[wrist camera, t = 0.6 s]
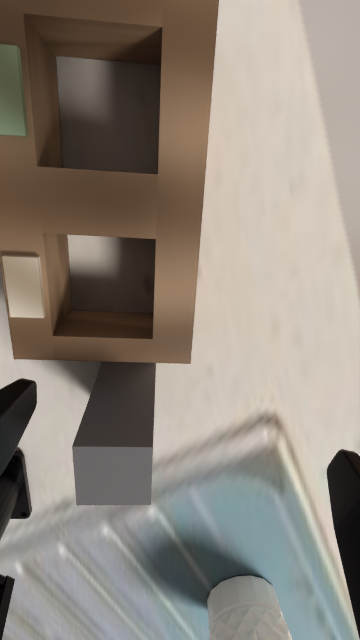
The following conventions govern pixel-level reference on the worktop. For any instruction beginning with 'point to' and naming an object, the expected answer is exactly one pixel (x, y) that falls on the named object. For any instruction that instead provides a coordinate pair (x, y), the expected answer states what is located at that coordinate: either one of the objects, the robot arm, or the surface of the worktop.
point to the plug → (117, 437)
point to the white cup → (245, 611)
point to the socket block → (101, 175)
